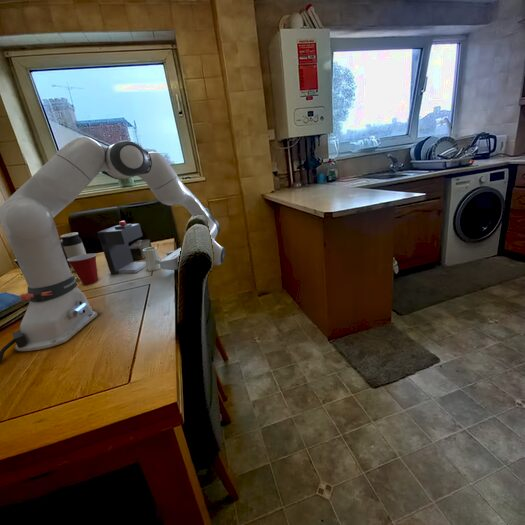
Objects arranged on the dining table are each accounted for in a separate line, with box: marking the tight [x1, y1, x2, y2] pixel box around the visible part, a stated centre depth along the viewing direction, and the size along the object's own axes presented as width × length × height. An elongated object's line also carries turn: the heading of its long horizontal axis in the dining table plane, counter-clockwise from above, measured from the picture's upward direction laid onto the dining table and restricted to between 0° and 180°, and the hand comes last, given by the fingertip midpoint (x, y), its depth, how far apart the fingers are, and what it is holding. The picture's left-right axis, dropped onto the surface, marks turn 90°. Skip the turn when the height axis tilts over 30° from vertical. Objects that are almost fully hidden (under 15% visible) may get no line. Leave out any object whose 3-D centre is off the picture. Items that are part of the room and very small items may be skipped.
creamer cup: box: [142, 246, 161, 272], centre depth 127 cm, size 6×6×10 cm
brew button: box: [118, 220, 127, 226], centre depth 123 cm, size 2×2×2 cm
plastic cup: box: [67, 253, 99, 286], centre depth 119 cm, size 11×11×12 cm
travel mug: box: [59, 232, 87, 272], centre depth 137 cm, size 8×8×18 cm
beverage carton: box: [129, 239, 153, 261], centre depth 151 cm, size 8×19×7 cm, turn 6°
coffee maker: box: [97, 223, 147, 276], centre depth 128 cm, size 13×12×21 cm
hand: (162, 257), depth 126 cm, fingers open, 8 cm apart
